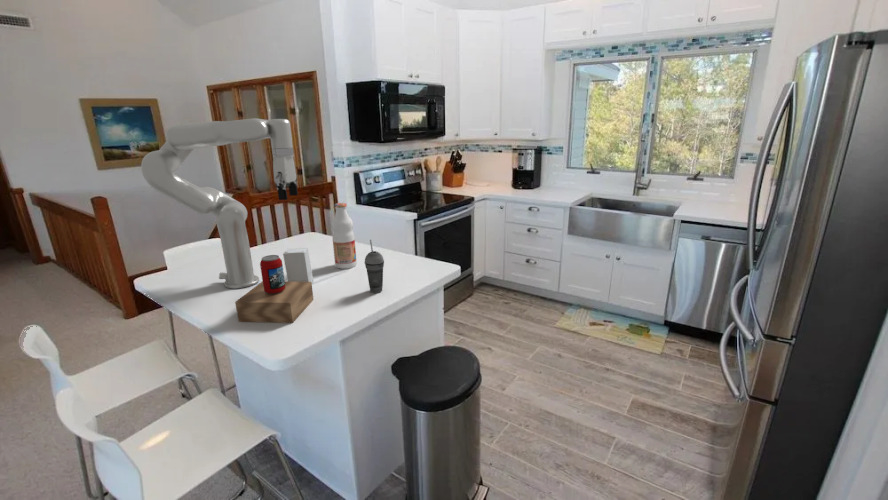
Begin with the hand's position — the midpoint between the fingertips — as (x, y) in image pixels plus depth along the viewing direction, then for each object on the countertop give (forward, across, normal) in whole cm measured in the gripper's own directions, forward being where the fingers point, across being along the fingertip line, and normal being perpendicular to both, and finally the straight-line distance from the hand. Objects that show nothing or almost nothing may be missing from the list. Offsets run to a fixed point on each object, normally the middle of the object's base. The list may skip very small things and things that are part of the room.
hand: (288, 197), depth 162 cm
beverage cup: (+34, +14, +36) cm, 51 cm away
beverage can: (+26, +32, +6) cm, 42 cm away
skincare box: (+34, +10, +5) cm, 35 cm away
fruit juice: (+34, -14, +16) cm, 40 cm away
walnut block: (+33, +32, +6) cm, 47 cm away
